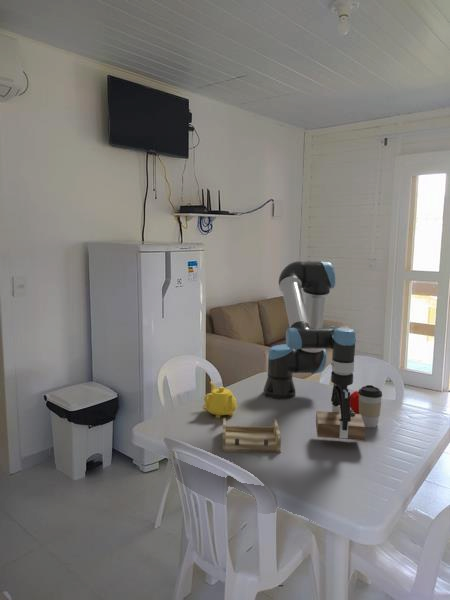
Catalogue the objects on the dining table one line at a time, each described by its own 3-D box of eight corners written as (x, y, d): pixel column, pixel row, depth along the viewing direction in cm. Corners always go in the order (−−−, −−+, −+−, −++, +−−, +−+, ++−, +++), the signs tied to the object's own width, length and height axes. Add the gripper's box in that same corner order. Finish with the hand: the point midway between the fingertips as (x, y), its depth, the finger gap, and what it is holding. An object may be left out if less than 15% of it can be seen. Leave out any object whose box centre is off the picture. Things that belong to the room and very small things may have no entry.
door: (315, 423, 168) (316, 408, 167) (359, 427, 166) (360, 411, 165) (317, 436, 158) (318, 420, 157) (364, 440, 155) (365, 424, 154)
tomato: (376, 419, 184) (377, 398, 183) (346, 414, 189) (347, 394, 188) (378, 410, 194) (379, 390, 193) (349, 406, 198) (350, 386, 197)
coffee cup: (382, 429, 174) (384, 392, 172) (357, 427, 176) (359, 390, 174) (378, 420, 183) (380, 385, 181) (355, 418, 185) (357, 383, 183)
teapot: (193, 408, 194) (193, 383, 192) (224, 403, 200) (224, 378, 199) (213, 425, 176) (213, 397, 174) (246, 419, 182) (246, 392, 181)
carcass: (223, 432, 170) (223, 418, 169) (275, 432, 170) (276, 419, 169) (222, 451, 154) (222, 436, 153) (280, 452, 154) (281, 437, 153)
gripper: (324, 361, 170) (322, 416, 173) (339, 383, 147) (336, 445, 150) (344, 362, 170) (341, 416, 173) (362, 383, 146) (358, 446, 150)
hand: (339, 430), depth 162 cm, fingers closed on door, 11 cm apart
